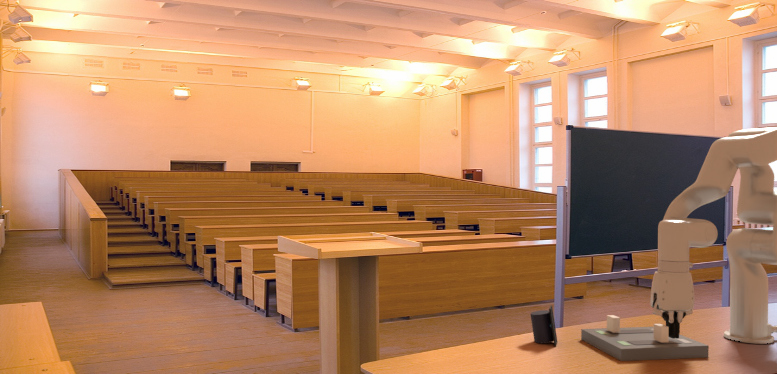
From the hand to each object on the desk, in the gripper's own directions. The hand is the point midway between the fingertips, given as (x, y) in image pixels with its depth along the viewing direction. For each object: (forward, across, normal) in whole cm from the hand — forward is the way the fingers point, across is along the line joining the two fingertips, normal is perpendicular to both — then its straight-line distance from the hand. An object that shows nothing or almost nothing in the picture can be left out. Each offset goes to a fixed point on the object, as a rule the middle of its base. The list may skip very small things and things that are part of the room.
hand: (672, 337), depth 168 cm
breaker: (+1, +10, -12) cm, 16 cm away
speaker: (+5, +29, -15) cm, 33 cm away
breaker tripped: (+1, +3, 0) cm, 3 cm away
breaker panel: (+4, +5, -6) cm, 9 cm away
